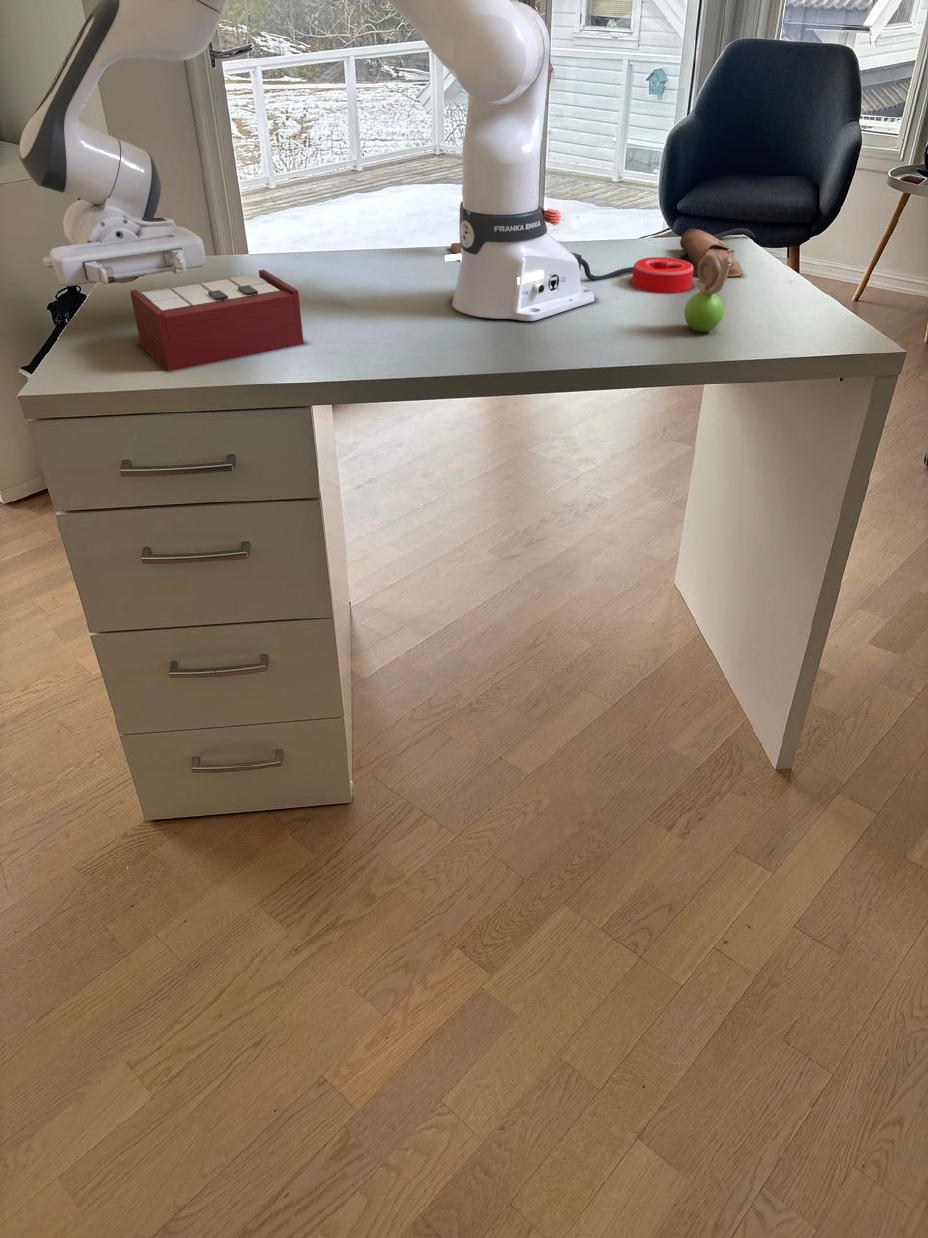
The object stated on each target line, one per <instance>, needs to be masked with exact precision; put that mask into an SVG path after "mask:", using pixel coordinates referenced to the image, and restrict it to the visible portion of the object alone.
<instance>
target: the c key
mask: <svg viewBox="0 0 928 1238" xmlns="http://www.w3.org/2000/svg"><path fill="white" fill-rule="evenodd" d="M229 281H230V282H232V283H233V284H235V285H236V286H238V287H240V286H247V285H249V286H253V285H259V284H265V283H267V281H265V280H263V279H262V278H260V277H259V275H257V274H255V273H253V274H247V275H241V276H236V277H230V278H229Z"/></svg>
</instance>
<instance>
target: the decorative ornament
mask: <svg viewBox="0 0 928 1238" xmlns="http://www.w3.org/2000/svg"><path fill="white" fill-rule="evenodd" d="M633 267H634V268H633V272H632V280H631V285H632V286H633V287H634V288H637V289H639V290H642V291H645V292H651V293H661V294H662V293H664V294H670V293H671V294H672V293H679V292H685V291H688V290H689V289H691V287H692V284H693V276H694V270H695V267H694V265H693V263H692V262H689V261H687V260H685V259H684V260H680V259H675V258H674V257H665V256H655V257H654V256H653V257H652V256H651V257H645V258H641V259H638V260H636V261H635V263H634V264H633Z"/></svg>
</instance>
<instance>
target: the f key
mask: <svg viewBox="0 0 928 1238" xmlns="http://www.w3.org/2000/svg"><path fill="white" fill-rule="evenodd" d="M140 294H141V295H142V296H144V297H145V298H146V299H147V300H148V301H149V302H151V303H152V302H156V301H162V300H168V299H174V298H179V296H178V295H177V294H175V293H174V292H173V291H172V289H170V288H169V287H165V288H159V289H154V290H148V291H142V292H140Z"/></svg>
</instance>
